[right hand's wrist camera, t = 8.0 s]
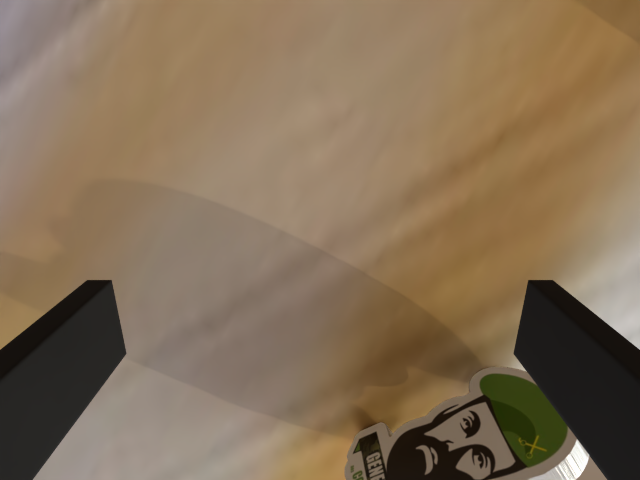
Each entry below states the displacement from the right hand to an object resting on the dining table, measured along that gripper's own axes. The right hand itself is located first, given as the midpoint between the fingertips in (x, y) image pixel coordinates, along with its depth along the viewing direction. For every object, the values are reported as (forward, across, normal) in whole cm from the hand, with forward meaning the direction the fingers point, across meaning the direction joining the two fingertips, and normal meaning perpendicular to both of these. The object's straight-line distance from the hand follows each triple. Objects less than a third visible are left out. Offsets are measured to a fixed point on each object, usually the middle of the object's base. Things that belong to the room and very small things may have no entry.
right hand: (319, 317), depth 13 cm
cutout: (+28, +14, -29) cm, 42 cm away
